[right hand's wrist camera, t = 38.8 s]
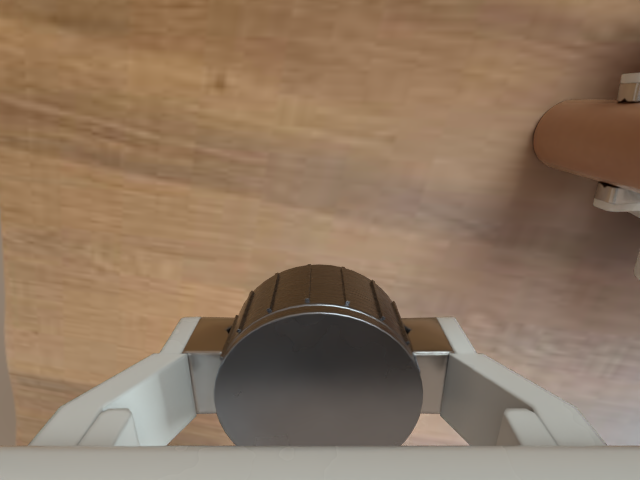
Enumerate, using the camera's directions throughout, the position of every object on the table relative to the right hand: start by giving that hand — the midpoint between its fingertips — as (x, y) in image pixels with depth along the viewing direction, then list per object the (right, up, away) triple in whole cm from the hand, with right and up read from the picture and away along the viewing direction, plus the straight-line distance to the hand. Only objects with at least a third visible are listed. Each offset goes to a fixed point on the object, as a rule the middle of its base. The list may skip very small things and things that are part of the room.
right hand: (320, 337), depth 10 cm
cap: (0, -1, -2) cm, 2 cm away
